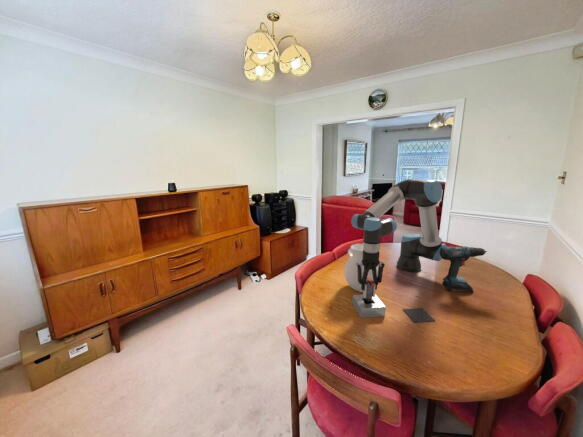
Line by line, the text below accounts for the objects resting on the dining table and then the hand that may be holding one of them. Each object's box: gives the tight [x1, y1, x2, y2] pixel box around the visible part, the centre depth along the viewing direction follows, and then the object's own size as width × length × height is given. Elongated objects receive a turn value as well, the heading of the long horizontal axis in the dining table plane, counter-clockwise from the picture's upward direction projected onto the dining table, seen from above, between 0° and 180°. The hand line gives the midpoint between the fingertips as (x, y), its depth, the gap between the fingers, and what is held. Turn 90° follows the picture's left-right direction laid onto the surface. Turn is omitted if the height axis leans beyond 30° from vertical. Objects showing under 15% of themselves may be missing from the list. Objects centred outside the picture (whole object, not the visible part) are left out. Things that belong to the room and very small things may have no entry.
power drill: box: [440, 245, 488, 293], centre depth 140 cm, size 9×23×25 cm, turn 78°
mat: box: [402, 307, 436, 324], centre depth 118 cm, size 10×10×1 cm
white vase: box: [344, 243, 379, 293], centre depth 142 cm, size 19×18×25 cm
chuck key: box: [365, 275, 375, 304], centre depth 121 cm, size 9×4×14 cm, turn 4°
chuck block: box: [352, 293, 387, 319], centre depth 123 cm, size 12×12×5 cm
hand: (368, 295), depth 122 cm, fingers closed on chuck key, 3 cm apart
